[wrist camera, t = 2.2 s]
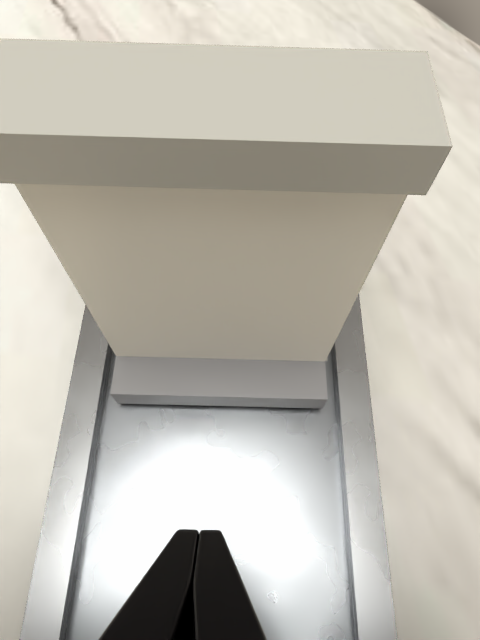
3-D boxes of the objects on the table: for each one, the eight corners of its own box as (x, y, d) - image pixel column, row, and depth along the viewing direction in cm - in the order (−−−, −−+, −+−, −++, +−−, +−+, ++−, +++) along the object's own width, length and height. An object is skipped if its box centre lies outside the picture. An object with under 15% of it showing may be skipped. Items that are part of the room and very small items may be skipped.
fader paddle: (327, 408, 18) (466, 200, 7) (112, 403, 18) (-63, 186, 7) (319, 297, 20) (417, 15, 10) (128, 292, 20) (14, 2, 10)
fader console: (396, 821, 14) (431, 878, 12) (12, 814, 14) (-35, 869, 12) (338, 216, 25) (350, 179, 23) (120, 210, 25) (107, 172, 23)
